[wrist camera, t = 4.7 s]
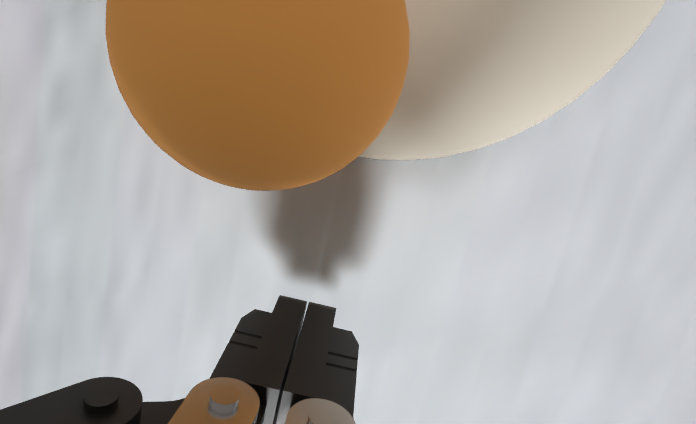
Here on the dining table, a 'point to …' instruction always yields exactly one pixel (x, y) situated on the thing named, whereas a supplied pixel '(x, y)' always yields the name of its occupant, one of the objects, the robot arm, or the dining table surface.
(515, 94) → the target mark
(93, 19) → the dining table surface
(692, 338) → the dining table surface
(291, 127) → the ball
